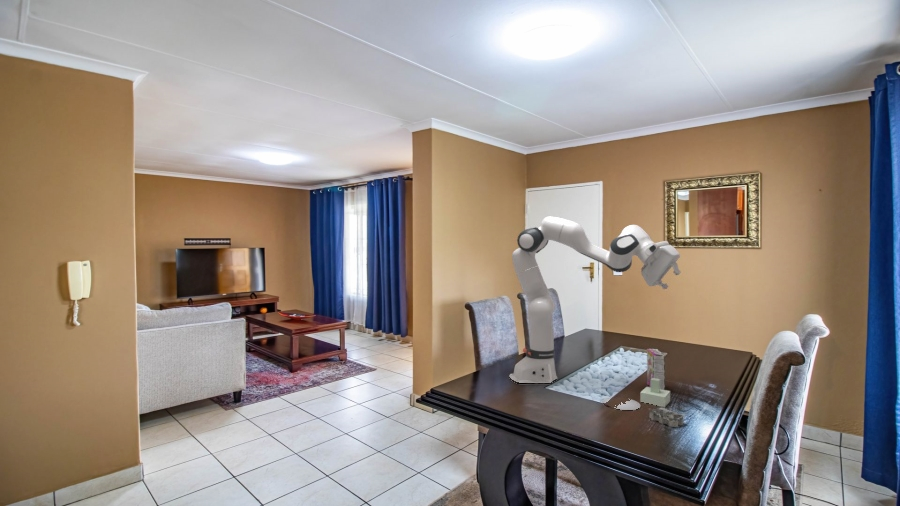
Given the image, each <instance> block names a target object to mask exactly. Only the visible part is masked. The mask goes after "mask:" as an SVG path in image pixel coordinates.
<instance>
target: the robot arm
mask: <svg viewBox="0 0 900 506" xmlns="http://www.w3.org/2000/svg"><path fill="white" fill-rule="evenodd" d="M516 241H517V245H518V247H519V248H516V249H515V250H514V251H513V252H512V253H511V259H512V264H513V268H514V272H515V274H516V277H517V279H518V282H519V284H520V287H521V291H523V293H524V295H525V297H526V298H527V301H528V307H527V314H528V315H527V316H528V319H527V320H528V326H529V327H528V328H529V348H528V349H527V348H525V347H524V348H523V349H522V352H523V353H524V354H525V355H526V356H525V357H523V358H521V360H520V361H518V362H517V363H516V364H515V366H514V369H513V373H510V374H509V377H510V378H511V379H512V380H514V381H516V382H519V383H551V382H552V381H553V380H555V379H557V380H558V376H557V371H556V365H555V360H556V359H555V358H556V353H555V350H556V349H555V346H554V344H555V343H554V342H555V340H554V339H555V338H554V336H555V334H554V323H553V314H554V312H555V308H556V305H555V302H554V300H553V297H552V295H551V293H550V290H549V288H548V287H547V285H546V283H545V281H544V278H543V275H542V273H541V270H540V267H539V264H538V262H537V260H536V259H537V258H536V254H538V253H539V252H540V251H542V250H543V249H544V248H546V246H547V245H548V243H549V241H553V242H556V243H560V244H563V245H565V246H568V247H570V248H571V249H573V250H574V251H576V252H578V253H579V254H581V255H583V256H585V257H588V258H589V259H592V260H594V261H596V262H598V263H601V264H603V265H604V266H606V267H607V268H609V269H610V270H611V271H613V272H616V273H623V272H626V271H628V270H630V268H631V267H632V262H633V257H634V256H637V257H638V259H639V260H640V261H641V263H642V264H643V266H642V267H641V269H640V270H641V271H640V273H641V276H642V278H643V279H644V281H645V282H646V284H647V286H648V287H654V286H655V287H656V286H659V287H661V288H662V289H663V290H667V289H668V288H669V285H668V284H667V283H666V282H665V283H664V282H663V281H662V279H663V278H664V277H665V275H667V274H668V272H669V271H670V269H671V268H673V269H672V270H673V274H674V275H675V276H678V275H680V274H681V270H680V269H679V265H678V263H677V261H678V260H679V259H680V257H681V255H680V252H679V251H678V250H677V249H676V248H675V247H674V246H673V245H671V244H670V242H668V240H663V241H659V242H654V241H653V240H652V239H651V237H650V235H649V234H648V233H647V232H646V231H645V230H644V229H643V228H642V227H641V226H640V225H637V224H630V225H627V226H625V227H624V228H623V229H622V230H621V232H620V234H619V235H618V236H617V237H615V238H614V239H612V240H611V242H610V244H609V249H608V250H607V249H605V248H602V247H600V246H598V245H596V244H594V243H592V242H591V241H590V239H589V238H588V236H587V235H586V231H585V229H584V227H583V226H582V225H581V224H579V223H577V222H575V221H573V220H570V219H566V218H561V217H557V216H550V215H549V216H548V215H547V216H546V217H544V218H543V219H542V220H541V222H540V225H539V227H536V226H535V227H530V228H527V229H524V230H522V231H521V232H520V233H519V234H518V236H517V240H516ZM510 378H509V379H510ZM512 380H511V381H512ZM552 383H553V382H552Z"/></svg>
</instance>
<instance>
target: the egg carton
mask: <svg viewBox="0 0 900 506" xmlns="http://www.w3.org/2000/svg"><path fill="white" fill-rule="evenodd" d="M647 410H648V411H649V419H650V418H651V419H650V421H652V422H653V421H656V422H659V424H661V425H664V424H665V425H668V427H670V428H678V427H679V426H683V425H684V417H685V416H686V413H685V414H682V413H678V412H676V411H672V410H669V409H667V408H666V407H659V408H653V409H651V408H648V409H647Z"/></svg>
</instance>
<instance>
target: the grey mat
mask: <svg viewBox="0 0 900 506" xmlns="http://www.w3.org/2000/svg"><path fill="white" fill-rule="evenodd" d="M612 397H613V396H611V397H610V396H609V397H605V398H604V399H603V400H602V404H603V403H606V402H608V401H609V400H610V399H611V398H612ZM628 399H629V400H630V399H631V398H628ZM625 403H626V404H623V403H622V402H621V405H620V404H619V405H618V406H617V408H616V407H614V408H616V409H620V410H619V411H622V410H633V411H637V410H636V409H638V408H639V409H640V408H641V404H640V403H639V402H638V401H636V400H634V399H631V400H630V401H626V402H625ZM615 406H616V405H615ZM616 409H615V410H616ZM639 409H638V410H639Z"/></svg>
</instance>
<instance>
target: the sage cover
mask: <svg viewBox="0 0 900 506" xmlns="http://www.w3.org/2000/svg"><path fill="white" fill-rule="evenodd" d="M639 394H640V396H639V397H640V403H641V402H644V403H643V404H646V403H649V404H648V405H651V404H653V405H652V406H656V405H657V406H656V407H660V408H666V407H667V406H668V404H669V403H670V402H671V390H667V389H665V390H662V389H660V379H656V378H652V379H651V380H650V387H649V386H646V387H645V388H644V389H642V390H641V391H640V393H639Z"/></svg>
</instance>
